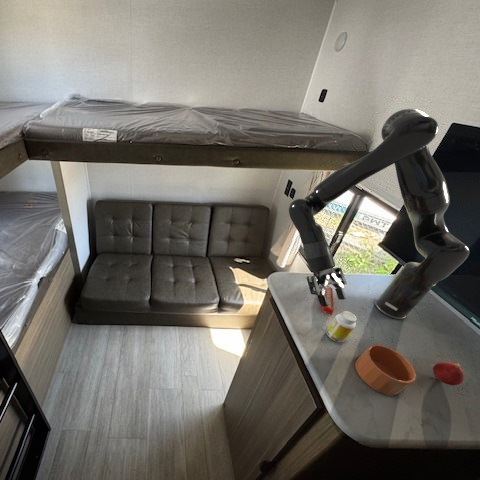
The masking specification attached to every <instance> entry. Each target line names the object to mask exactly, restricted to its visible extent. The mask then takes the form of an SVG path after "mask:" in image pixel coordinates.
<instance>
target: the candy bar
mask: <svg viewBox="0 0 480 480" xmlns="http://www.w3.org/2000/svg"><path fill="white" fill-rule="evenodd" d="M333 290H334V289H333V287H331V286H330V285H328V286H327V288H326V289H325V294H324V295H325V296H326V299H327V302H328V306H327V307H322V306H321V310H322V311H323V312H325V314H328V315H329V316H332V315H333V313H334V310H335V307H334V305H335V304H334V291H333Z"/></svg>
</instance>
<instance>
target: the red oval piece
mask: <svg viewBox="0 0 480 480" xmlns="http://www.w3.org/2000/svg"><path fill="white" fill-rule="evenodd" d="M432 371H433V372H432V373H433V375H434V377H435V378H436V380H438V381H439V382H441V383H443V384H446V385H448V386H459V385H461V384H462V383H463V382H464V380H465V372H464V371H463V369H462V368H461V365H460V364H459V362H458V363H453V362H449V361H440V362H437V363H435V364H434V366H433V367H432Z"/></svg>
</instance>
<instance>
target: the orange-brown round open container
mask: <svg viewBox="0 0 480 480" xmlns="http://www.w3.org/2000/svg"><path fill="white" fill-rule="evenodd" d="M354 365H355V370H356V373H357V374H358V376H359V377H360V378H361V380H362V381H363V382H364V383H365V384H366V385H368V386H369V387H370V388H372V389H374V391H376V392H378V393H380V394H383V395H386V396H396V395H398V394H400V393H401V392H402V391H404V390H405V389H406V388H408V387H409V386H410V385H411V384H412V383H414V382H415V380H416V379H417V375H416V370H415V369H414V367H413V365H412V364H411V363H410V362H409V360H408V359H407V358H406V357H405V356H403V355H402V354H401V353H399V352H398V351H396V350H394V349H393V348H391V347H388V346H387V345H383V344H378V343H377V344H375V343H374V344H369V346H368V347H367V348H366V350H364V352H363V353H362V354H360V356H359V357H358V358H357V360H355V364H354Z"/></svg>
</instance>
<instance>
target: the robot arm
mask: <svg viewBox="0 0 480 480" xmlns="http://www.w3.org/2000/svg"><path fill="white" fill-rule="evenodd" d="M438 133H439V124H438V121H437V120H436V119H435V118H434V117H432V116H431V115H428V114H427V113H425V112H424V111H422V110H419V109H414V108H404V109H401V110H397V111H395V112H394V113H392V114H391V115H390V116H389V117H388V118H386V120H385V121H384V123H383V125H382V127H381V133H380V134H381V139H382V142H381V143H379V145H378V146H376V147H375V148H374V149H372V150H371V151H370V152H369V153H367V154H365V155H364V156H362V157H361V158H359V159H357V160H355V161H353V162H350V163H348V164H346V165H344V166H342V167H340V168H338V169H337V170H335V171H333V172H332V173H330V174H329V175H328V176H327V177H326V178H324V179H323V180H321V181H320V182H319V183H318V184H316V186H315V187H314V188H313V191H312V192H311V193H310V194H309V195H307V196H306V197H304V198H297V199H294V200H293V201H291V202H290V204H289V206H288V214H289V218H290V219H291V222H292V223H293V225H294V227H295V228H296V230H297V232H298V235H299V238H300V241H301V244H302V248H303V253H304V256H305V260H306V262H307V265H308V268H309V271H311V272H312V275H310V276H309V275H307V276H306V281H307V285H308V288H309V292H310V294H311V295H314V296H316V297H317V301H318V304H319V305H320V307H321V308H322V307H327V306H328V302H327V299H326V296H325V295H324V294H325V289H326V288H327V286H330V285H331V286H333V288H334V290H335V293H336V296H337V299H338V300H341V301H342V300H343V301H344V300H346V299H347V296H346V292H345V289H344V288H345V286H346V285H347V284H348V283H347V279H346V277H345V275H344V271H343V270H342V269H343V268H342V267H341V266H340V267H336V262H335V259H334V257H333V256H334V255H333V253H332V250H331V248H330V244H329V243H328V241H327V238H326V236H325V232H324V229H323V227H322V225H321V224H319V223H318V222H317V220H316V219H315V217H314V216H316V215H318V214H319V213H320V212H322V211H323V210H324V209H325V208H326V207H327V206H328V205H329V204H330V203H332V202H334V201H335V200H337V199H338V198H340V197H341V196H343V195H344V194H345V193H347V192H348V191H350V190H351V189H352V188H354V187H356V186H357V185H359V184H360V183H362V182H364V181H366V179H368V178H371V177H372V176H374V175H375V174H377V173H379V172H381V171H383V170H384V169H387V168H388V167H391V166H393V165H394V167H395V172H396V179H397V183H398V187H399V191H400V195H401V199H402V201H403V202H402V203H403V205H404V207H405V210H406V212H407V215H408V218H409V220H410V223H411V225H412V230H413V231H412V232H413V238H414V239H413V240H414V245H415V248H416V250H417V252H418V253H419V254H420V255H421V256H422V257H424V259H423V261H422V262H417V261H409V262H407V263H405V264H404V265H403V267H402V268H401V269H400V270H399V272H398V273H397V274H396V276H395V277H394V278H393V279H392V280H391V282H390V283H389V284H388V285H387V287H386V288H385V289H384V290H383V292H382V293H381V294H380V296H379V297H378V298H377V299H376V300H375V301H374V305H375V307H376V309H377V310H378V311H379V312H380V313H382V314H383V315H385V316H387V317H389V318H391V319H395V320H404V319H405V318H406V317H407V316H408V315H409V314H410V313H411V312H412V310H413V309H415V307H416V306H417V305H418V304H419V303H420V302H421V301H422V300H423V299H424V297H425V296H426V295H427V294H428V293H429V292H430V291H431V290H432V289H433V288H434V287H435V286H436V285H437V284H438V283H439V282H441V281H443V280H445V279H447V278H448V277H449V276H450V275H451V274H453V272H455V271H456V270H457V269H458V268H459V267H460V266H461V265H462V264H464V262H465V261H467V258H469V255H470V248H469V247H468V245H466V244H465V243H464V242H462V241H461V240H459V238H457V237H455V236H454V235H453V234H451V232H450V231H449V229H448V227H447V225H446V222H445V219H444V215H445V213H446V211H447V210H448V208H449V206H450V202H451V199H450V193H449V188H448V184H447V181H446V179H445V176H444V175H443V172H442V171H441V169H440V167H439V164H437V162H436V160H435V159H434V157H433V156H432V153H431V151H430V149H429V144H430V143H432V141H434V139H435V138H436V136H437V135H438Z"/></svg>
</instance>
